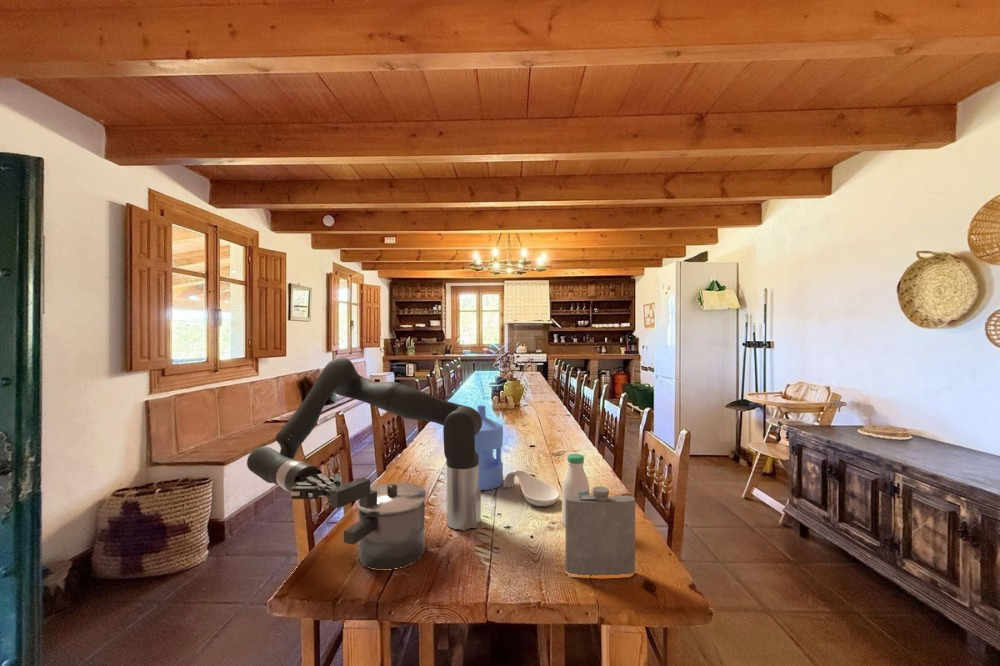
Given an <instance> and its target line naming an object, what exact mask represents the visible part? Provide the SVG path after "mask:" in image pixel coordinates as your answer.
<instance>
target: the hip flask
mask: <svg viewBox="0 0 1000 666" xmlns="http://www.w3.org/2000/svg"><path fill="white" fill-rule="evenodd" d="M592 493H593V494H591V495H590V494H589V495H586V496H567V497H566V498H565V527H564V530H565V535H564V536H565V539H564V540H565V545H564V546H565V552H564V554H565V556H564V557H565V558H564V559H565V560H564V561H565V566H564V567H565V570H566V571H567V572H568V573H571V574H578V575H590V576H592V575H595V576H596V575H620V574H630V573H633V572H635V573H636V498H635V496H631V495H616V496H609V494H610V489H609V488H608V487H605V486H594V487H593V488H592Z"/></svg>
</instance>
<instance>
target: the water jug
mask: <svg viewBox="0 0 1000 666" xmlns="http://www.w3.org/2000/svg"><path fill="white" fill-rule="evenodd" d="M476 407H477V410H476V411H477V412H478V413H479V414H480V416H481V418H482V427H481V429H480V431H479V432H478V433H477V434H476V435H475V452H476V453H477V454H478V456H479V488H481V490H484V491H489V490H490V489H491V490H494V488H495V489H497V488H499V487H501V486H503V483H504V469H503V468H504V466H503V465H504V464H503V462H502V446H503V445H504V444H503V443H504V442H503V441H504V440H503V439H504V431H503V429H504V428H503V425H502V424H501V423H500V422H498V421H497V422H496V421H494V420H493V419H490V418H488V417H487V414H486V412H487V410H486V408H487V406H486V405H478V406H476ZM494 450H495V452H496V453H495V454H496V455H495V457H494ZM500 485H501V486H500ZM491 490H490V491H491Z"/></svg>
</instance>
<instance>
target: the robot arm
mask: <svg viewBox="0 0 1000 666" xmlns="http://www.w3.org/2000/svg"><path fill="white" fill-rule="evenodd" d="M332 393H335V394H336V395H338V396H341V397H345V398H348V399H353V400H356V401H360V402H363V403H366V404H368V405H371V406H373V407H376V408H379V409H381V410H384V411H385V412H388V413H390V414H393V415H395V416H397V417H400V418H404V419H408V420H414V421H420V422H421V421H423V422H431V423H435V424H439V425H441V426H443V430H442V431H443V432H442V433H443V452H444V457H445V458H446V525H447V527H448V526H449V527H448V528H450V527H451V528H454V529H453V530H455V529H469V528H476V527H477V528H478V526H479V524H480V522H481V519H482V517H481V515H482V513H481V512H482V509H481V508H482V507H481V506H482V505H481V504H482V503H481V502H482V497H481V496H482V495H481V493H482V492H481V488H479V456H478V454H477V453H476V452H475V435H476V434H477V433H478V432H479V431H480V429H481V427H482V418H481V416H480V414H479V413H478V412H477V410H476V409H475V408H473V407H471V406H468V405H464V404H458V403H455V402H452V401H448V400H443V399H440V398H439V397H436V396H434V395H431V394H429V393H426V392H424V391H421V390H418V389H416V388H414V387H412V386H409V385H406V384H403V383H400V382H397V381H386V382H377V381H374V380H371V379H368V378H365V377H364V376H361V375H360V374H359V373H358V372H357V370H356V368H355V366H354V364H353V362H352V361H351V360H350V359H349V358H347V357H341V356H339V357H335V358H333V359H332V360H330V361H329V362H328V363H327V364H326V365H325V366H324V368H323V370H322V371H321V373H320V374H319V376H318V378H317V379H316V380H315V382H314V384H313V385H312V387H311V389H310V390H309V392H308V393H307V395H306V396H305V398H304V399H303V401H302V402H301V404H300V405H299V406H298V408H297V409H296V411H294V413H293V414H292V416H291V417H290V418H289V419H288V420H287V422H286V423H285V424H284V425H283V426H282V427H281V429H279V431H278V432H277V433H276V435H275V440H276V442H277V443H278V445H279V447H280V451H278V450H276V449H273V448H272V447H269V446H259V447H257V448H255V449H254V450H253V451H251V452H250V454H249V455H248V456H247V459H246V466H247V469H248V470H249V471H250V472H252V473H253V474H255V475H256V476H257V477H259V478H260V479H262V481H264V482H266V483H268V484H274V485H276V486H278V487H281V488H282V490H284V491H286V492H288V493H290V494H291V495H290V496H291V500H317V499H319V497H320V498H328V499H330V490H331V489H333V488H336V487H339V486H341V485H342V473H340V472H339V473H336V474H335V475H333V476H330V475H329V474H323V472H322V471H321V469H320V468H319V467H318V466H315V465H314V464H311V463H308V462H305V461H302V460H298V459H295V457H296V456H297V455H296V454H297V452H298V450H299V449H300V446H301V445H302V444H303V443H304V441H305V440H306V439H307V437H309V436H310V434H311V433H312V431H313V430H314V428H315V426H317V423H318V421H319V418H320V416H321V414H322V411H323V409H324V406H325V405H326V402H327V401H328V399H329V397H330V396H331V394H332ZM291 435H292V436H291ZM288 439H289V440H288ZM451 528H450V529H451ZM477 528H476V529H477ZM469 530H470V529H469Z"/></svg>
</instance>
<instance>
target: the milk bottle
mask: <svg viewBox="0 0 1000 666" xmlns="http://www.w3.org/2000/svg"><path fill="white" fill-rule="evenodd" d="M584 462H585V457H584V455H582V454H580V453H569V454H568V455H567V464H568V465H567V466H568V467H567V470H566V473H565V475H564V476H563V480H562V487H561V522H562V523H561V524H562V525H563V524H564V525H565V498H566V497H567V496H586V495H590V484H589V482H590V481H589V480H588V477H587V475H586V472H585V469H584V465H585V463H584ZM564 525H563V526H564Z"/></svg>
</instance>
